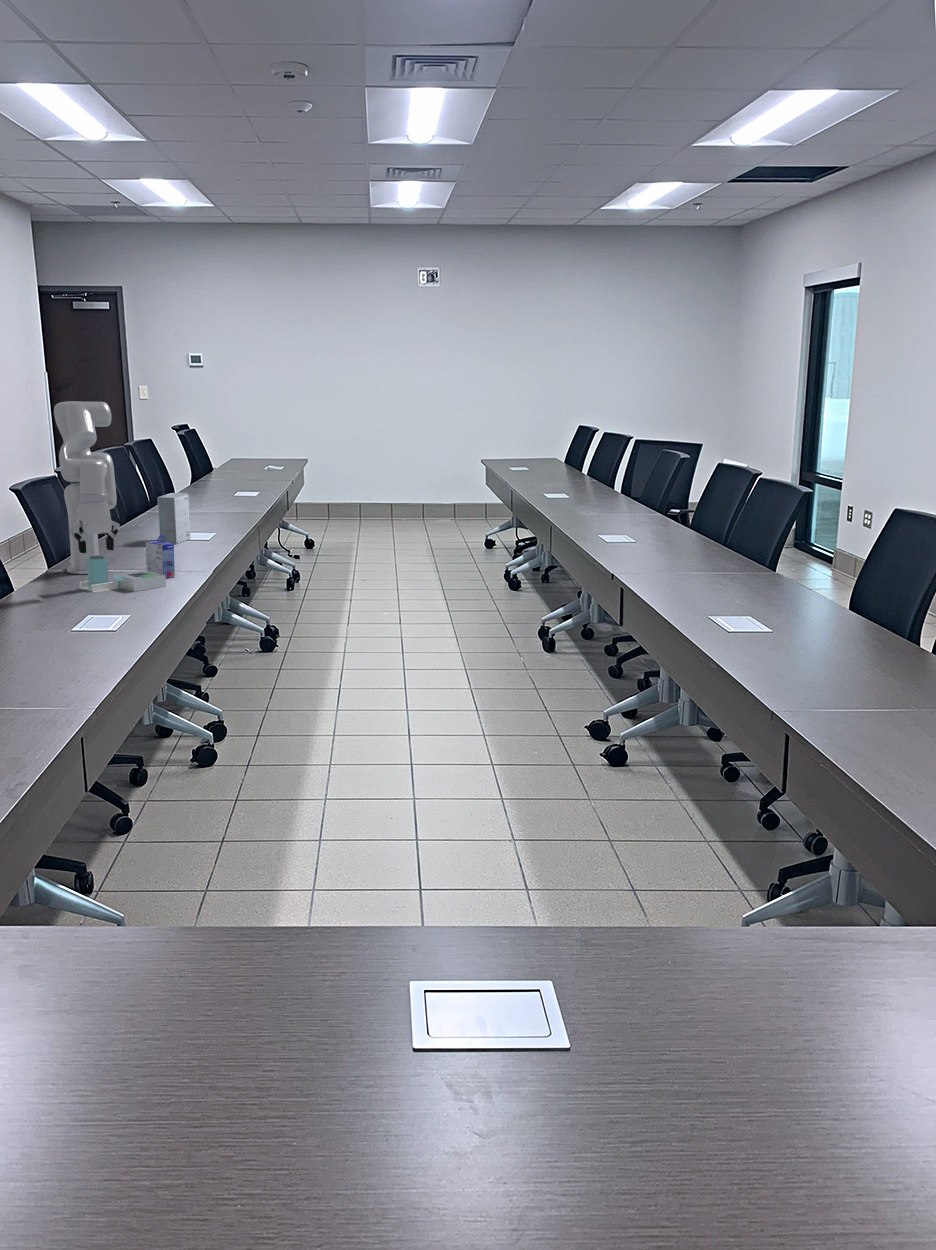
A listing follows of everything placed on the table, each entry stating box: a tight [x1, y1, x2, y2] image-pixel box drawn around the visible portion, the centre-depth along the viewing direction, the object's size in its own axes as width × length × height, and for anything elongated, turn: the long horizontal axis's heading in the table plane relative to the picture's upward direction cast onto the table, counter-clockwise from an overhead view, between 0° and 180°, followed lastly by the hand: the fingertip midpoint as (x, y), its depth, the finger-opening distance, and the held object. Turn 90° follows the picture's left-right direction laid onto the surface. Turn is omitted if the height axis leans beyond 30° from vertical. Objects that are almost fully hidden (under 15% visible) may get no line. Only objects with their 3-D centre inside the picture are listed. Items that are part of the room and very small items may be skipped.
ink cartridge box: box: [145, 534, 176, 579], centre depth 371 cm, size 10×6×14 cm, turn 53°
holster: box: [78, 580, 120, 593], centre depth 346 cm, size 10×9×3 cm
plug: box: [87, 554, 109, 588], centre depth 345 cm, size 4×4×11 cm
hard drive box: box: [157, 492, 192, 545], centre depth 447 cm, size 16×8×20 cm, turn 172°
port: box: [113, 569, 167, 592], centre depth 350 cm, size 12×12×6 cm
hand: (96, 551), depth 343 cm, fingers open, 9 cm apart
